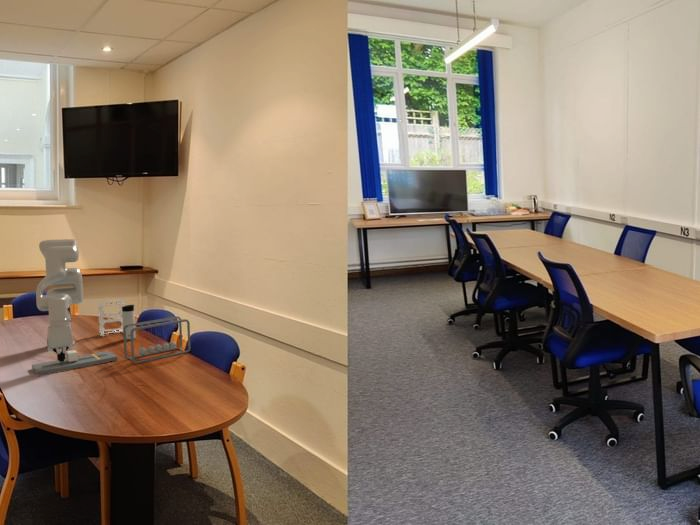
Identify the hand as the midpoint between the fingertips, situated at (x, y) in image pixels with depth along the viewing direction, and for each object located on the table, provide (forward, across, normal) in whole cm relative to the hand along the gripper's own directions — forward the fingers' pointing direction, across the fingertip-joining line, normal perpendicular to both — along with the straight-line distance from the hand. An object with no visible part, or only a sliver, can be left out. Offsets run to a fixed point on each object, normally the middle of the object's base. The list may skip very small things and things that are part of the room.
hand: (61, 361), depth 238 cm
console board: (+3, -6, 0) cm, 7 cm away
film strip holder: (+3, -38, -51) cm, 64 cm away
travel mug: (+3, -41, -30) cm, 51 cm away
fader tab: (+1, -4, 0) cm, 5 cm away
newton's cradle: (+3, -41, +12) cm, 43 cm away
